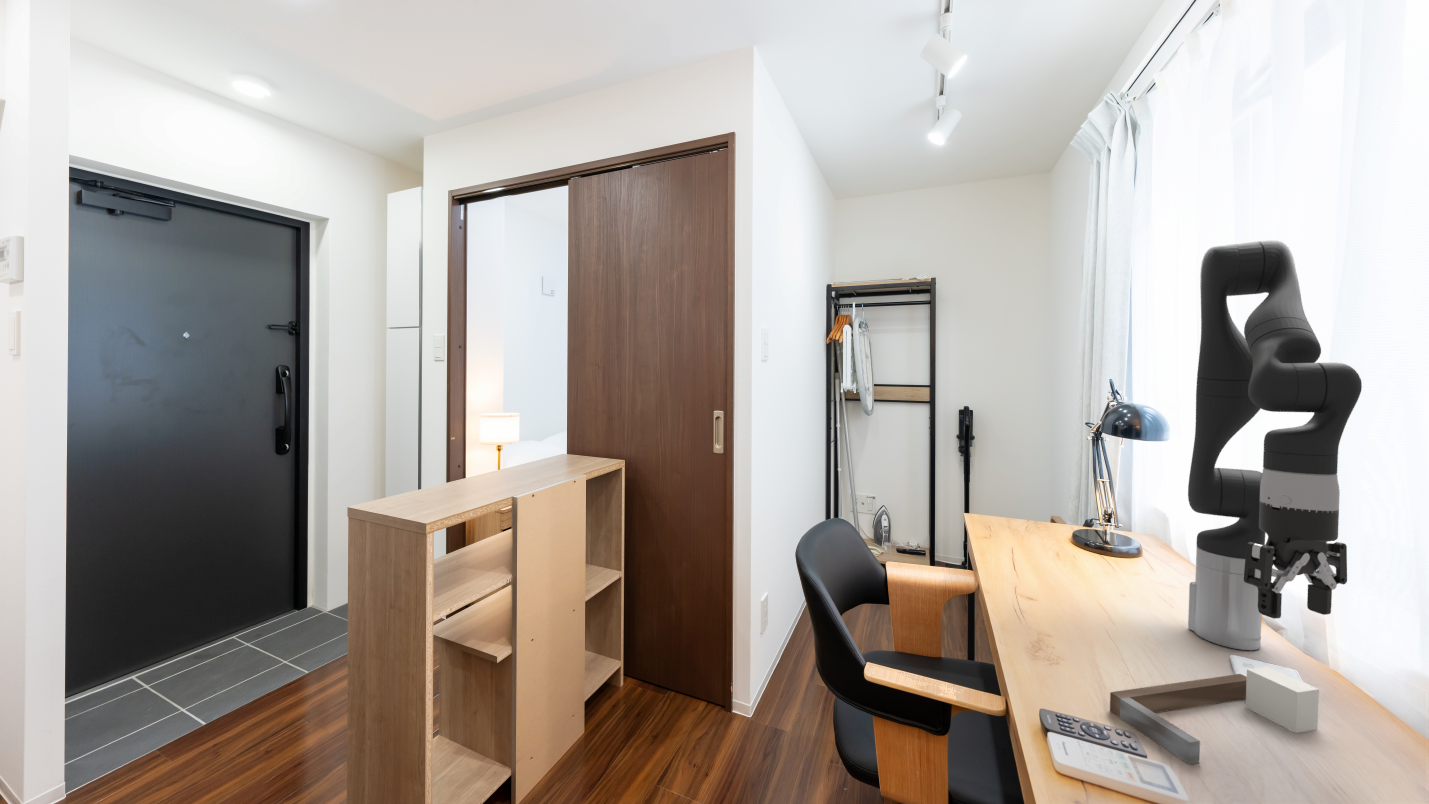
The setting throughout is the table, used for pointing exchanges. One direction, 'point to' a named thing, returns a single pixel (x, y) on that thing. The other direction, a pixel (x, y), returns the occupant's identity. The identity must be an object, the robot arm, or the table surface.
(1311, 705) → the block
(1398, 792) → the table surface
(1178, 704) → the guide fence
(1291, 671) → the external hard drive
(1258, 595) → the robot arm
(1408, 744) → the table surface
